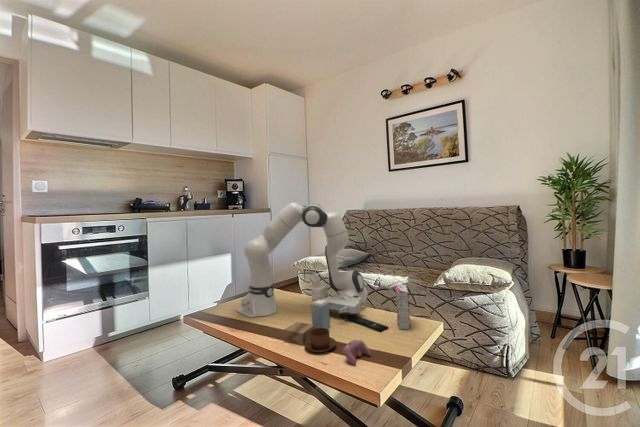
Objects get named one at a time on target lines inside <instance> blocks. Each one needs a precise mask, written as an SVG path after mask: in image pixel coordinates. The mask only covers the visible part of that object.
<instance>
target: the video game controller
mask: <svg viewBox="0 0 640 427" xmlns="http://www.w3.org/2000/svg"><path fill="white" fill-rule="evenodd" d="M342 352H343V356H345V358H346V360H347V361H348V362H349V363H350V364H351V365H352V366H356V365H357V361H356V359H357V357H358V358H360V357H361V356H362V355H363V353H364V354H365V355H366V356H368V357H371V356H372V352H371V350H370V348H369V346H367V344H366V343H365V342H364V341H363V340H362V339H354V340H351V341H349V342H347V344H346V345H345V346H343V348H342Z"/></svg>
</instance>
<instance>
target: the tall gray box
mask: <svg viewBox="0 0 640 427" xmlns="http://www.w3.org/2000/svg"><path fill="white" fill-rule="evenodd" d="M311 323H312V324H311V325H315V329H316V328H325V329H328V330H329V329H330V328H331V322H330V309H329V303H327V301H324V300H317V301H315V302H313V304H312V303H311Z"/></svg>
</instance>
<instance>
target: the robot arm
mask: <svg viewBox="0 0 640 427" xmlns="http://www.w3.org/2000/svg"><path fill="white" fill-rule="evenodd" d="M301 222H303V223H304V224H305V225H306V226H307V227H308V228H322V229H323V232H324V234H325V238H326V245H325V248H324V254H325V260H326V266H327V267H326V268H327V272H328V285H329V287H330V288H331V290H333V291H334V292H342V291H343V292H342V293H340V294H339V295H337V297H335V296H328V297H326V298H323V299H321V300H324V301H327V303H329V310H334V311H337V313H338V314H343V313H347V314H353V315H356V314H358V313H359V312H361V311H363V303H364V302H365V301H367V298H368V295H369V294H368V293H369V292H368V290H367V288H366V287H365V280H364V277H363V275H362V274H361V272H360V271H358V270H346V271H340V270H339V267H338V262H337V255H338V253H339V252H340V251H342V250H343V249H344V248H345V247H347V246H348V243H349V240H350V239H349V234H348V233H349V232H348V230H347V228H346V225H345V222H344V221H343V219H342V217H341V215H340V214H339V212H336V211H330V212H326V211H325V210H324V208H323V206H322V205H320V204H318V203H310V204H307V205H303V206H301V205H300V204H299V203H297V202H295V201H293V202H290V203H288V204H287V205H285V206H283V208H282V209H281V210H280V211H278V213H277V214H276V215H275V216H274V217H273V218H272V219H271V220H270V221H269V222H268V223H267V224H266V226H265V227H264V229H263V230H262V232H261V233H260V234H259V235H258V236H256V237H255V238H252V239H250V240H249V241H247V243H246V244H245V247H244V255H245V257H246V259H247V263H248V267H249V273H250V286H249V285H248V288H247V289H249V290H248V293H247V294H245V296H243V297H242V299H241V301H240V306H239V307H237V308H236V312H237V313H240V314H242V315H244V316H246V317H248V318H255V317H266V316H271V315H273V314H276V312H278V305H277V303H276V302H277V301H276V294H275V292H274V290H275V285H274V283H273V281H274V280H273V268H272V267H271V262H270V259H269V257H270V256H269V255H271V254H272V253H273V251H274V250H275V249H276V248H277V247H278V246H279V245H280V243H281V242H282V241H283V240H284V238H286V237H287V235H288V234H290V232H292V230H293V229H294V228H295V227H296V226H297V225H298V224H299V223H301Z"/></svg>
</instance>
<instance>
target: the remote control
mask: <svg viewBox="0 0 640 427" xmlns="http://www.w3.org/2000/svg"><path fill="white" fill-rule="evenodd" d="M341 319H345V320H347V321H349V322H353V323H355V324H358V325H360V326H363V327H366V328H368V329H371V330H374V331H376V332H380V333H382V331H383V332H385V331H386V330H389V329H390V328H389V326H386V325H384V324H381V323H379V322H375V321H373V320H370V319H367V318H364V317H361V316H359V315H357V314H353V313H345V314H343V315H342V316H341ZM384 330H385V331H384Z"/></svg>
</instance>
